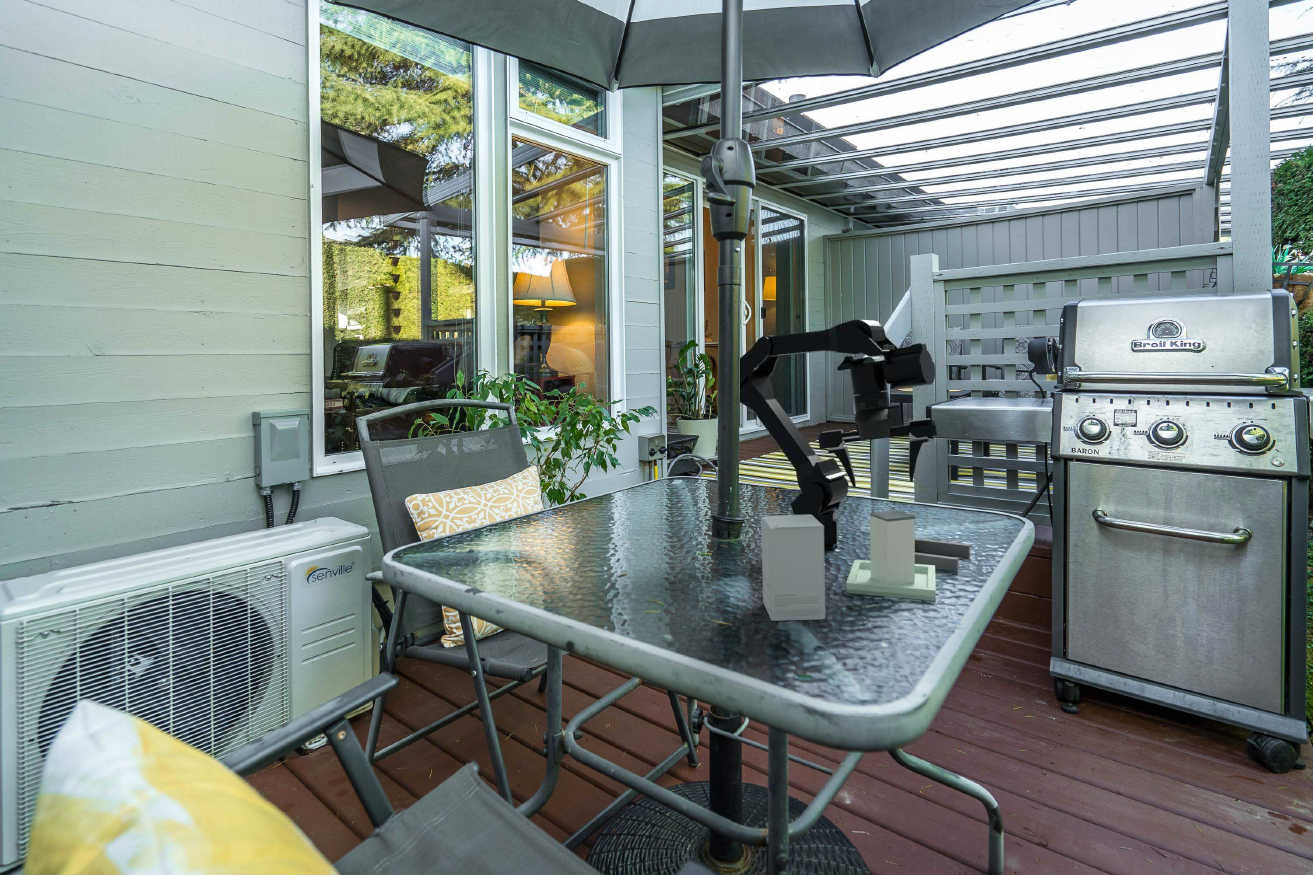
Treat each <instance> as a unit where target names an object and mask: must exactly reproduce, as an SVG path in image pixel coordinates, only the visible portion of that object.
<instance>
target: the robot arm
mask: <svg viewBox="0 0 1313 875" xmlns="http://www.w3.org/2000/svg"><path fill="white" fill-rule="evenodd" d="M885 330H886V329H885V328H884V327H883V325H882V324H881V323H880V322H879V321H876V320H870V319H869V320H868V319H867V320H865V319H851V320H848V321H846V322H841V323H838V324H836V325H834V326H832V327H829V328H827V329H822V330H815V331H807V332H805V331H804V332H797V333H789V334H787V333H786V334H779V335H762V336H761V337H759V338H758V339H757V340H756V342H755V343H754V344H753V346H752V347H751V348H750V349H749V350H748V351H747V352H745V353H744V354H743V355H742V356H741V357H739V359H740V402H739V403H740V404H742V405H744V406H745V407H747V408H749V409H750V410H751V411H752V412H753V413H754V414H755V416H756V418H758V420H759V421H760V423H761V424H762V425H763V426H764V429H765V430H766V431H767V432H768V433H769V435H770V436H771V438H772V439H773V441H774V442H775V444H776V445H777V447H779V449H780V451H782V453H783V454H784V455H785V457H786V458H787V460H788V461H789V463H790V464H791V466H792V467H793V468H794V471H795V475H796V481H797V482H796V483H797V486H798V488H799V490H800V492H801V493H800V494H799V495H797V497H796V498H795V499H794V500H793V501H792V502H791V503H790V506H791V509H792V510H791V511H792V512H793V515H813V516H814V517H815V518H816V519H817V520H818V521H819V522H820V523H821V524H822V525H823V526H824V550H834V548H835V547H836V545H837V544H838V542H839V537H840V536H839V535H840V532H839V526H840V524H839V519H838V518H836V510H838V509H840V507H841V503H842V501H843V500H845V499H846V497H847V496H848V493H849V487H850V485H849V482H848V479H849V481H850V483H851V485H852V487H853V488H856V487H857V484H856V476H855V472H854V468H853V464H852V459H851V456H850V453H849V448H848V445H847V446H845V445H846V443H853V442H854V443H855V442H863V441H872V440H880V439H889V438H890V439H891V438H895V437H906V436H909V439H908V474H909V475H908V476H909V482H911V483H912V482H914V476H915V472H916V468H917V467H916V466H917V460H918V457H919V453H920V451H921V448H922V446H923V444H924V443H929V442H930V439H929V438H930V437H935V436H937V435H938V433H937V426H936V421H934V420H933V419H931V418H929V417H928V418H922V419H912V420H908V424H904V425H903V422H902V414H901V405H900V404H895V405H891V403H890V394H889V388H888V385H891V387H892V388H893V389H895V390H903V389H909V388H916V387H922V386H928V385H932V384H933V383H934V381H935V379H936V365H935V362H934V361H933V357H932V355H931V354H930V352H929V350H928V348H927V343H925V342H919V343H914V344H911V345H909V346H904V347H903V346H902V347H898V346H897V345H896V344H895V343H894V342H893V341H892V340H891V339H890V338H889V337H888V336H887V335H886V334H887V333H886V331H885ZM820 352H833V353H840V354H850V355H846V356H844V358H843V360H842V361H841V363H839V365H838V366H837V368H836V370H837V371H838V372H842V371H849V375H850V382H851V389H852V390H851V391H852V395H853V396H852V397H853V404H854V411H855V412H854V414H855V417H854V422H855V430H856V431H854V430H853V431H848V432H847V431H846V432H844V430H843V429H841V428H840V429H833V430H825V431H822V432H820V434H819V435H818V438H817V439H818V447H819V450H825V449H826V450H827V449H828V450H827V452H828V454H834V455H835V456H836V458H838V460H839V462H840V463H841V465H842V466H843V468H844V471H845V472H844V471H843V470H842V469H841V468H840V466H839V464H838V462H837V461H836V460H835V458H834V457H830V458H827V459H823V458H822V457H821V456H819V455H818V454H817V453H816V452H815V450H814V449H813V448H812V446H811V445H810V444H809V443H808V441H807V440H806V438H805V437H804V435H803V434H802V433H801V432H800V430H799V429H798V428H797V426H796V425H795V424H794V422H793V421H792V419H791V418H790V417H789V415H788V414H787V413H786V412H785V410H784V409H783V407H782V406H781V405H780V403H779V402H778V401H777V398H775V395H774V394H775V393H774V388H773V383H772V381H771V379H770V378H771V376H772V374H774V371H775V369H776V367H777V364H778V361H779V358H781V356H785V355H796V354H797V355H798V354H809V353H820ZM852 355H865V357H860V358H855V357H853V356H852ZM874 357H876V358H877V357H878V358H879V357H883V360H882V359H881V360H878V361H876V360H874ZM846 477H848V479H847V478H846Z"/></svg>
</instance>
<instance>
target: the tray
mask: <svg viewBox="0 0 1313 875" xmlns="http://www.w3.org/2000/svg"><path fill="white" fill-rule="evenodd" d="M936 587H937V586H936V569H935V565H922V564H915V583H907V584H900V585H891V584H883V583H881V582H879V581H877V580H875V579H873V578H871V562H870V560H863V559H862V560H861V559H854V561H853V563H852V566H851V569H850V571H849V573H848V577H847V580H846V583H845V590H846V591H845V593H846V594H853V595H863V596H864V595H866V596H867V595H868V596H878V597H887V598H898V599H910V600H919V601H920V600H921V601H933V602H936V601H937V599H936V598H937V596H936V595H937V593H936V592H937V590H936Z"/></svg>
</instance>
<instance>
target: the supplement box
mask: <svg viewBox="0 0 1313 875" xmlns="http://www.w3.org/2000/svg"><path fill="white" fill-rule="evenodd" d="M760 523H761V526H760V528H761V533H760V534H761V561H762V562H761V563H762V564H761V565H762V566H761V567H762V568H761V569H762V602H763V606H764V607H765V610H766V611H767V614H768V615H769V616H768V617H769V619H770V620H771V622H772V621H776V622H777V621H780V622H781V621H811V620H814V621H816V620H817V621H818V620H825V618H826V579H825V578H826V575H825V574H826V572H825V569H826V567H825V549H824V526H823V525H822V524H821V523H820V522H819V521H818V520H817V519H816V518H815V517H814V516H813V515H795V514H789V515H787V514H786V515H769V516H768V515H767V516H761V520H760Z"/></svg>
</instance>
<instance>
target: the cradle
mask: <svg viewBox="0 0 1313 875" xmlns="http://www.w3.org/2000/svg"><path fill="white" fill-rule="evenodd" d="M921 552H922V553H921ZM930 553H931V554H930ZM952 556H955V557H952ZM959 557H964V558H970V557H971V543H970V544H969V543H962V542H961V543H960V542H953V541H945V540H944V541H943V540H942V541H941V540H934V539H925V538H917V537H916V538H915V564H922V565H935V570H941V571H947V572H955V573H958V572H959V571H958V570H959V568H960V566H959V564H960V563H959V562H960V558H959Z"/></svg>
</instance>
